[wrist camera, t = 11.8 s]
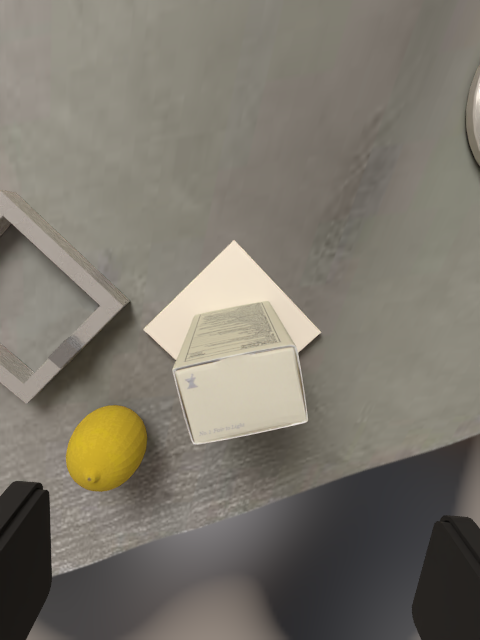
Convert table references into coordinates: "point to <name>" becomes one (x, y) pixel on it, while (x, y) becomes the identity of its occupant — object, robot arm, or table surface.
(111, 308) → the grey square frame
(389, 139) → the table surface
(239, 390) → the skincare box
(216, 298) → the pad
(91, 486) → the lemon
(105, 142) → the table surface
